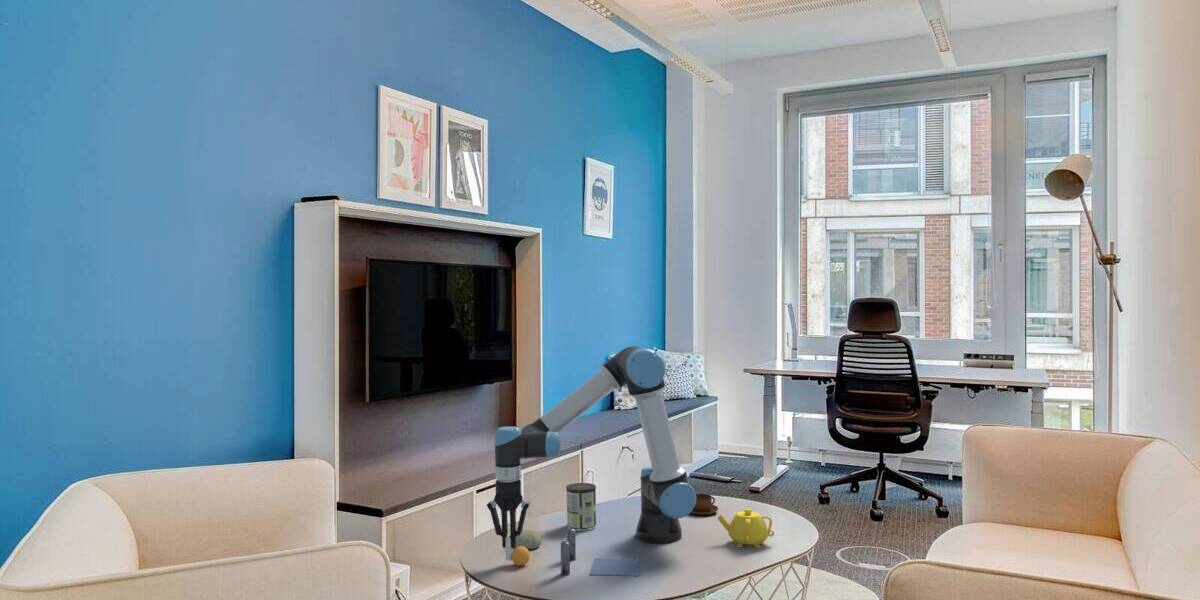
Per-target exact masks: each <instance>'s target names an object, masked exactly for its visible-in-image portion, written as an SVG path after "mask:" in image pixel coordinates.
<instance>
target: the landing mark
mask: <svg viewBox="0 0 1200 600" xmlns="http://www.w3.org/2000/svg"><path fill="white" fill-rule="evenodd" d="M641 561H642V560H641V558H640V559H639V558H634V559H633V558H604V557H602V558H596V557H594V559H593V561H592V565H591V568H590V571H589V576H607V577H608V576H610V577H611V576H612V577H613V576H614V577H615V576H616V577H639V575H638V574H639V573H640V568H639V567H641Z"/></svg>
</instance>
